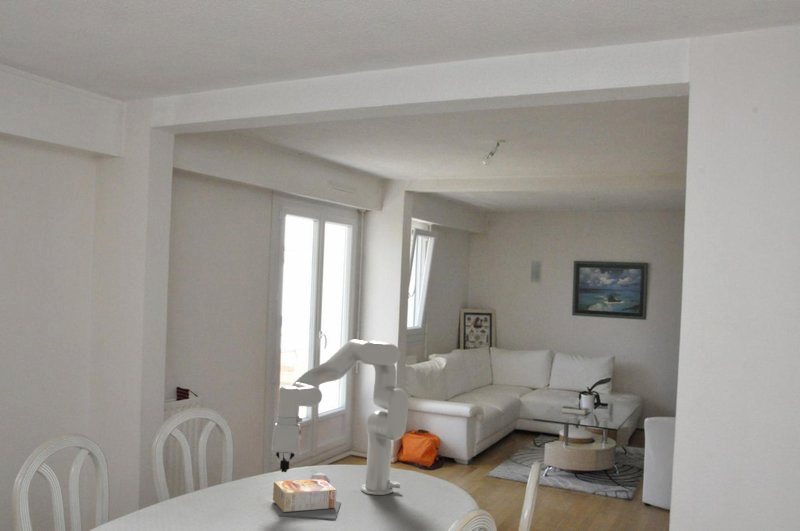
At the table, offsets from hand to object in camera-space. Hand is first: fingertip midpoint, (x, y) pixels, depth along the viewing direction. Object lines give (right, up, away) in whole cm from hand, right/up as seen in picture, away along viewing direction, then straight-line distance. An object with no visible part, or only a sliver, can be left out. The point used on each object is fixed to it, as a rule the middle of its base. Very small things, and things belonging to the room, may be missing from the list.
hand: (284, 471), depth 256 cm
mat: (+10, -14, 0) cm, 17 cm away
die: (+10, -13, +21) cm, 27 cm away
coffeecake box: (-2, -9, -1) cm, 9 cm away
